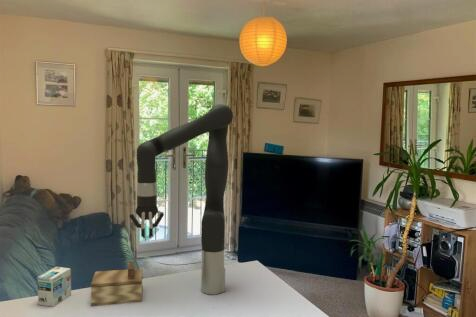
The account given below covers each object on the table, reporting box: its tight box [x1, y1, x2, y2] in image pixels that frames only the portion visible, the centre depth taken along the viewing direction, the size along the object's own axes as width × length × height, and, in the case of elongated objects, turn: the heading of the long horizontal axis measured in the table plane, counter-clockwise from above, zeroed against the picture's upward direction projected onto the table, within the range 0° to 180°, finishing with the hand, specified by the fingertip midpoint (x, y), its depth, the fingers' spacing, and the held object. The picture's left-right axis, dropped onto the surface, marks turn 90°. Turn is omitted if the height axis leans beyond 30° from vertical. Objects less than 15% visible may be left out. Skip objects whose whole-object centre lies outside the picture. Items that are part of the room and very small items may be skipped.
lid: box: [90, 260, 143, 288], centre depth 143 cm, size 18×12×5 cm, turn 103°
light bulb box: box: [37, 266, 72, 307], centre depth 141 cm, size 11×7×11 cm, turn 168°
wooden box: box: [90, 282, 143, 307], centre depth 144 cm, size 18×12×7 cm, turn 103°
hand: (146, 237), depth 145 cm, fingers closed
